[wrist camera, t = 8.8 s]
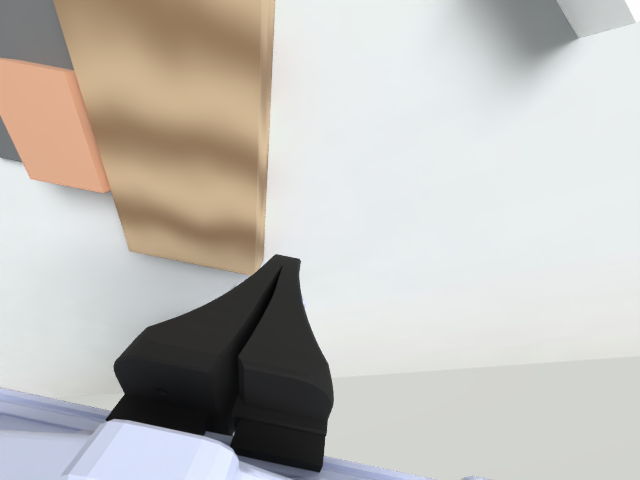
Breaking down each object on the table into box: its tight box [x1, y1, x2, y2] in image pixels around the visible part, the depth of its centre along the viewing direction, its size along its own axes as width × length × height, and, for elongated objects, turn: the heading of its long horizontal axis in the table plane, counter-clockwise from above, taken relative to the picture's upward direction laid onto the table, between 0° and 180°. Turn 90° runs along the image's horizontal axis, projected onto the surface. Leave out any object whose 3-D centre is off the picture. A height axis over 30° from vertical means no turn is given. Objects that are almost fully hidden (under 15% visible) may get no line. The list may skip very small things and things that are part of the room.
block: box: [0, 58, 111, 193], centre depth 18 cm, size 8×6×2 cm
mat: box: [0, 0, 74, 161], centre depth 18 cm, size 14×12×1 cm
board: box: [53, 0, 275, 275], centre depth 18 cm, size 20×12×2 cm, turn 171°
